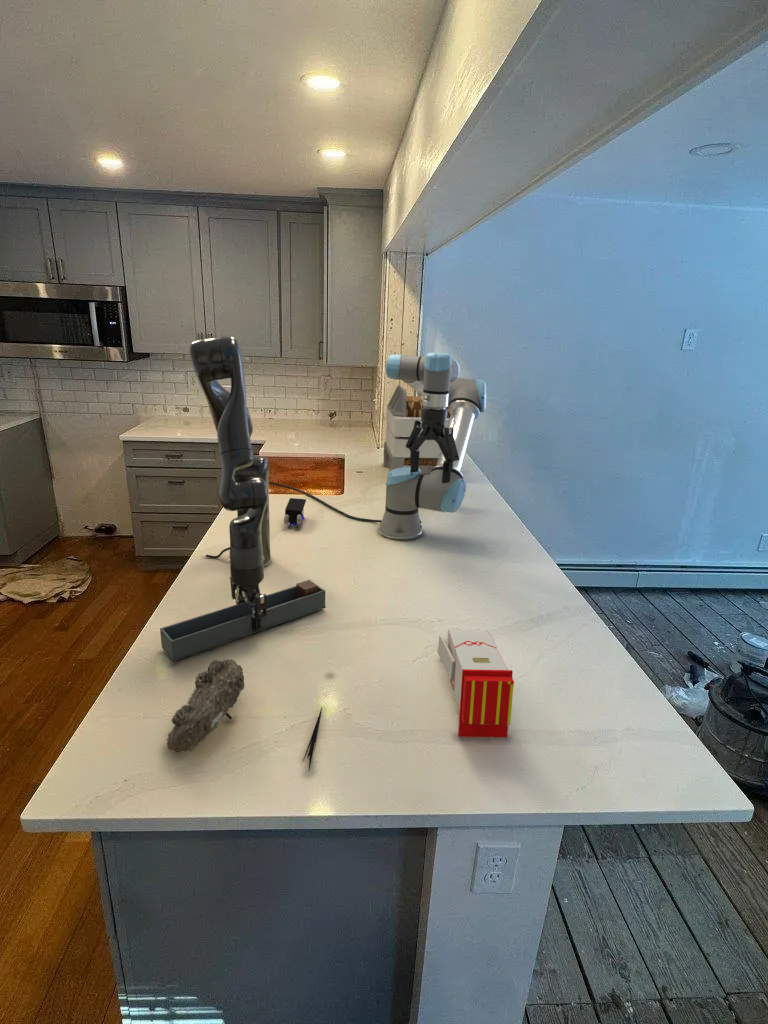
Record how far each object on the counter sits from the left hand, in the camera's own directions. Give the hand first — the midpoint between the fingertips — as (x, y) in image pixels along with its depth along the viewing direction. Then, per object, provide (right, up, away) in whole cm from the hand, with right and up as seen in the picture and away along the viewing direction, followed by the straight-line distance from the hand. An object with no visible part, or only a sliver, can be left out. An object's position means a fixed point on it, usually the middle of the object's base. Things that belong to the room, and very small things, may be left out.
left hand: (249, 623), depth 137 cm
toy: (+50, -11, -18) cm, 55 cm away
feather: (+20, -13, -28) cm, 37 cm away
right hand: (+46, +38, +36) cm, 70 cm away
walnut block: (+12, +3, +10) cm, 16 cm away
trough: (0, -1, 0) cm, 1 cm away
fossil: (0, -12, -29) cm, 31 cm away
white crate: (+50, +46, +138) cm, 154 cm away
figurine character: (0, +23, +68) cm, 72 cm away
